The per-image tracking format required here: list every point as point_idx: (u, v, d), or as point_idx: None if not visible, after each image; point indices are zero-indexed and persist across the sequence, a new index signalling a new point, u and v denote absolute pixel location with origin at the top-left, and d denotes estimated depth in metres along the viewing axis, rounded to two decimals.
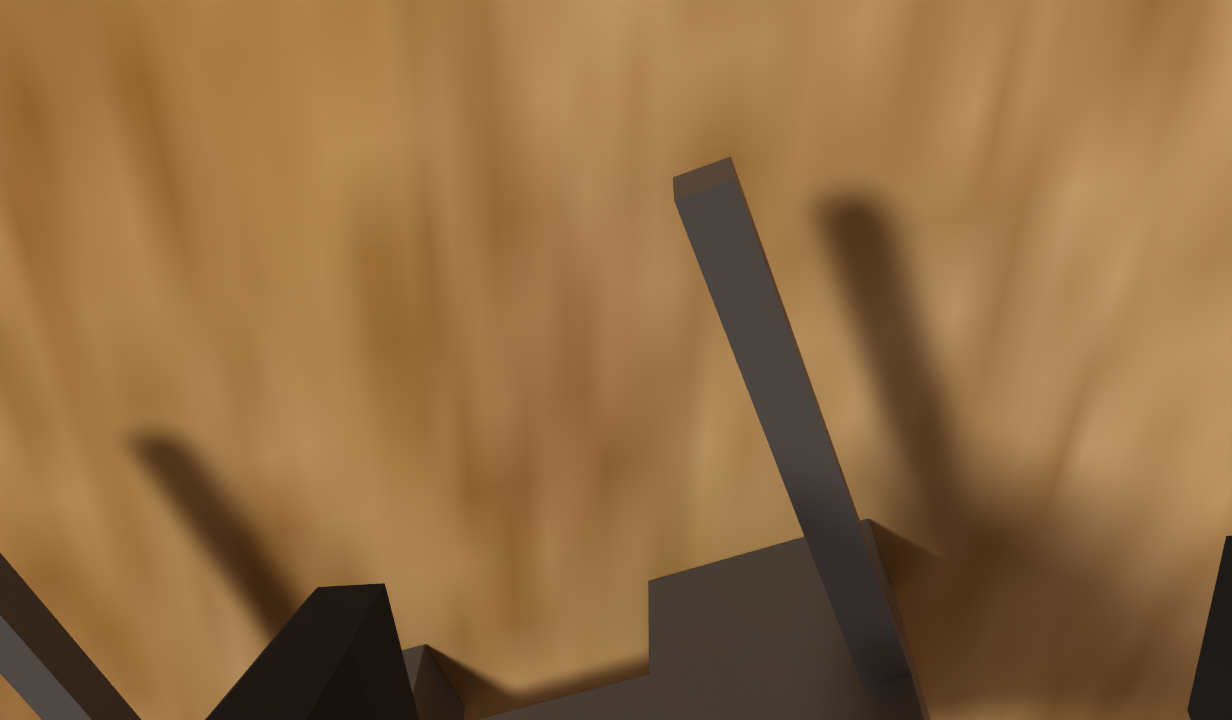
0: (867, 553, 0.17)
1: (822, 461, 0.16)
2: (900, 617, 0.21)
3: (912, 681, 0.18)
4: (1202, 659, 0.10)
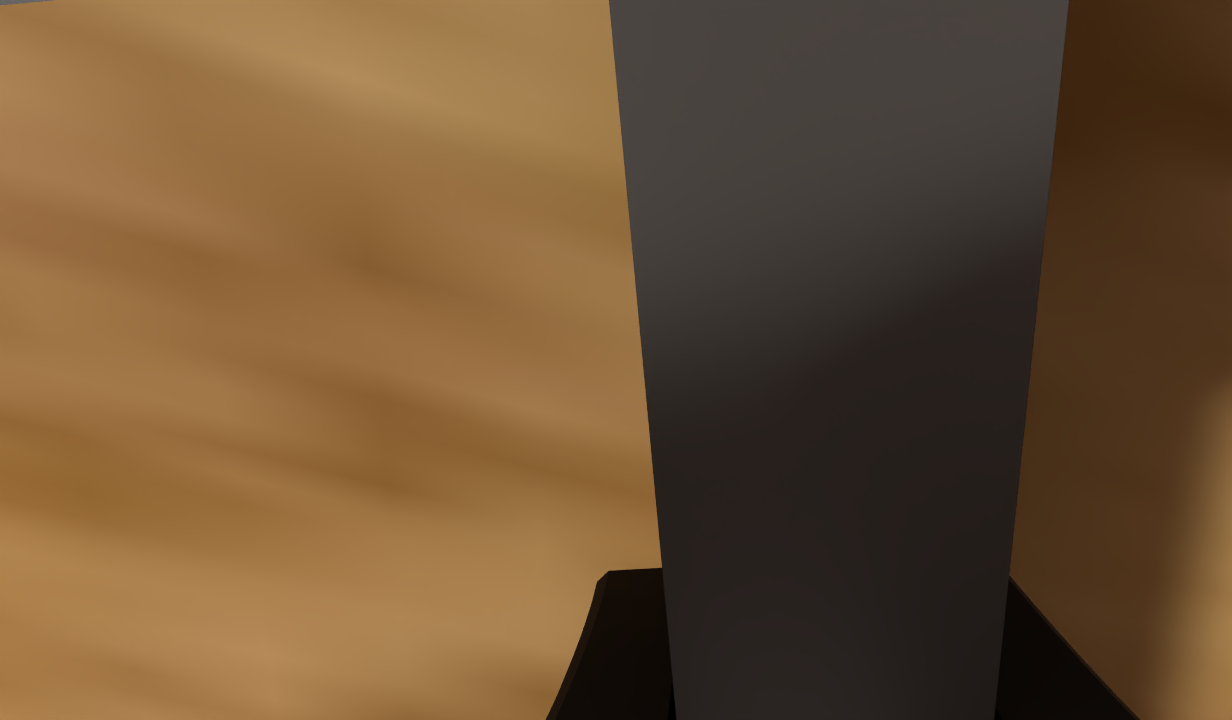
0: None
1: None
2: None
3: None
4: None
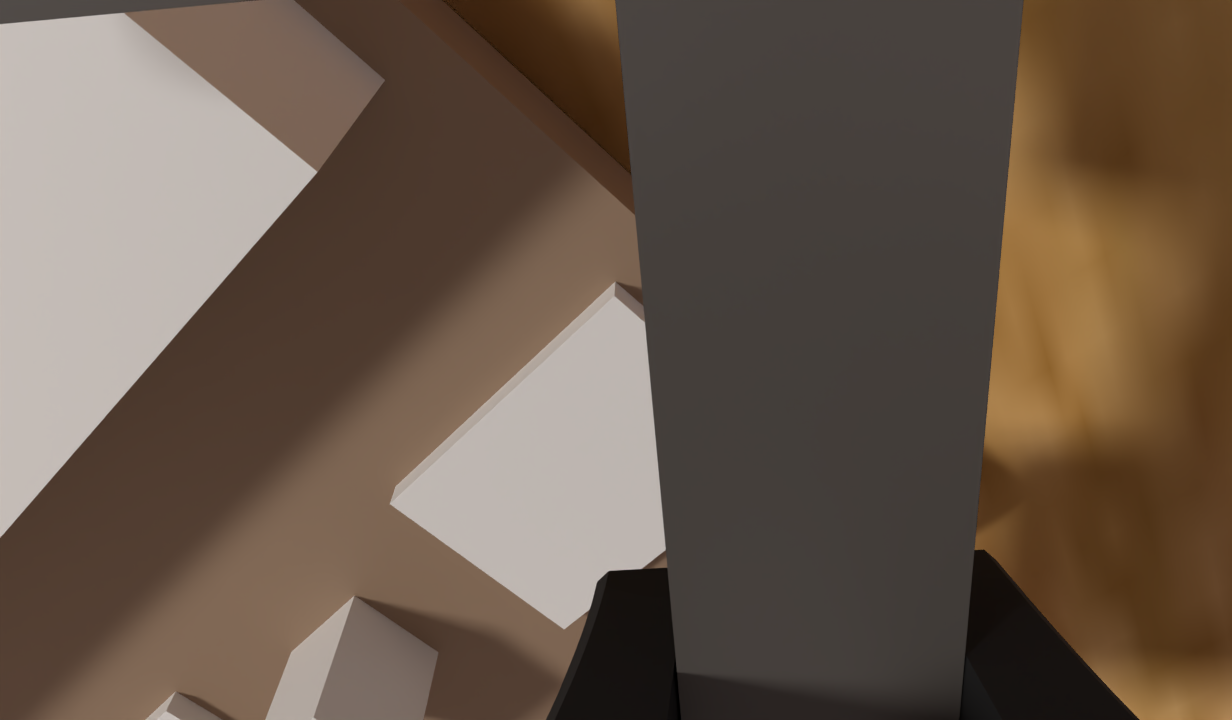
0: None
1: None
2: None
3: None
4: None
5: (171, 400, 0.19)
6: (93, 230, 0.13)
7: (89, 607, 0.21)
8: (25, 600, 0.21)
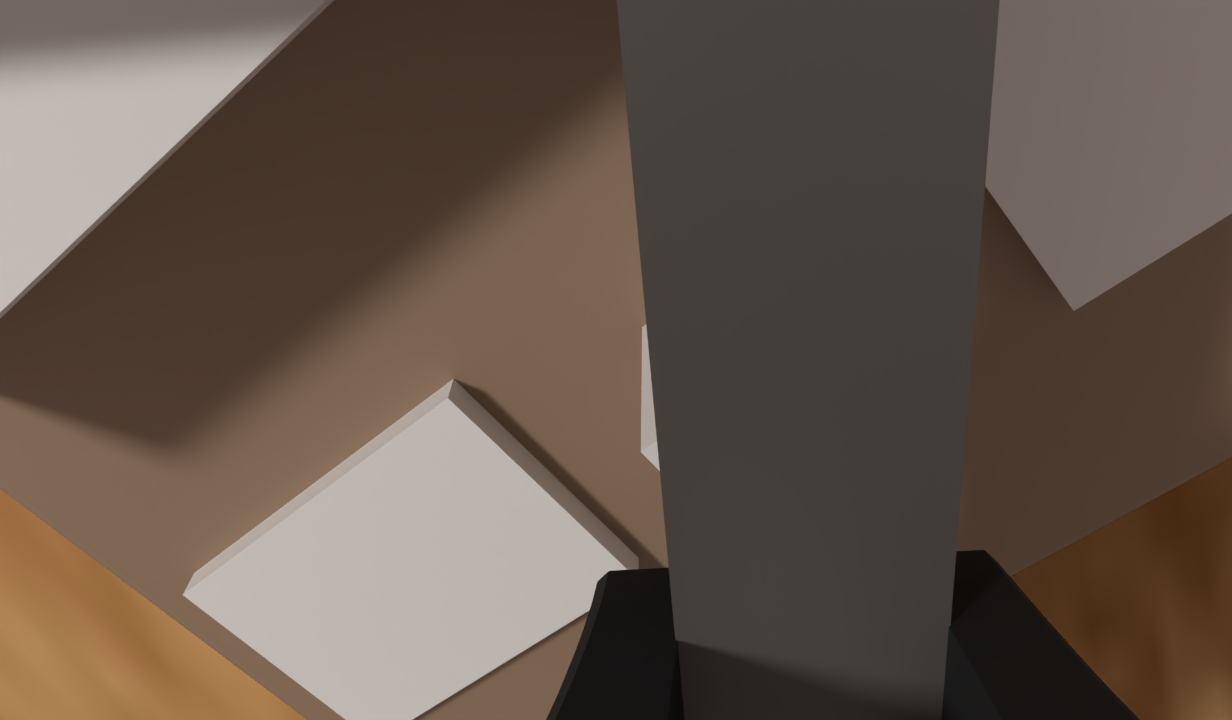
0: None
1: None
2: None
3: None
4: None
5: None
6: None
7: (365, 224, 0.14)
8: (272, 201, 0.14)
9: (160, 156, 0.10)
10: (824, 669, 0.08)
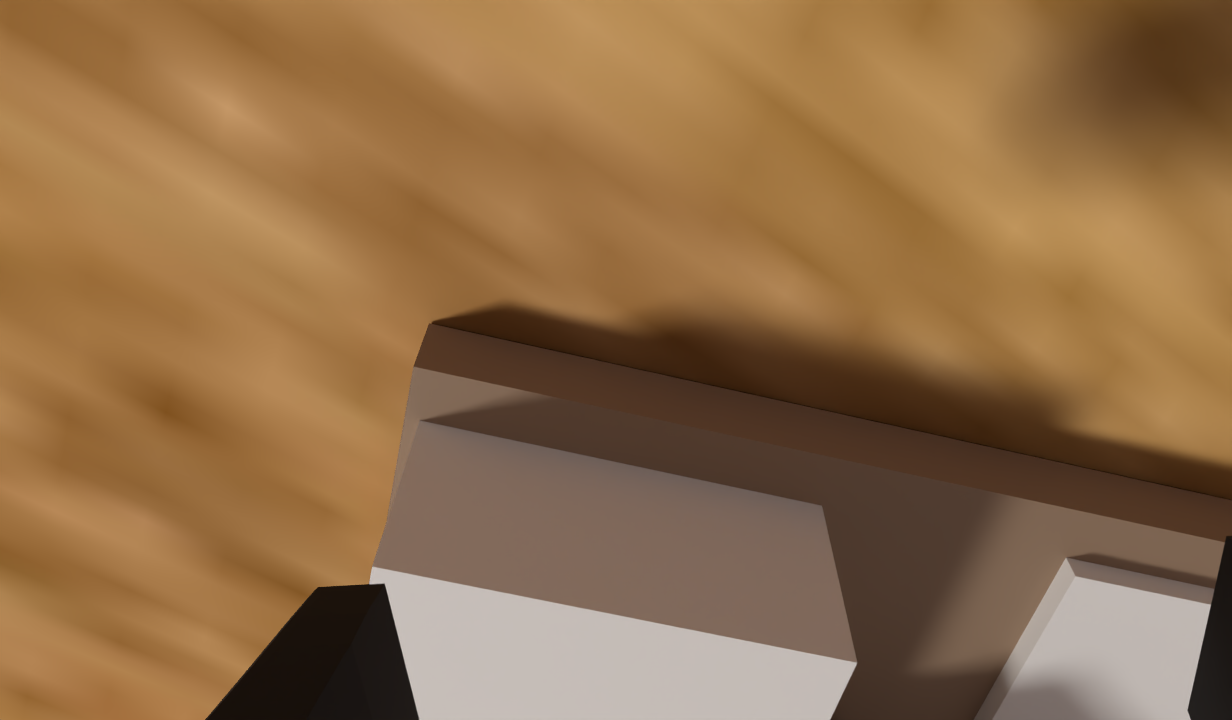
0: None
1: None
2: None
3: None
4: (1202, 659, 0.10)
5: None
6: None
7: None
8: None
9: None
10: None
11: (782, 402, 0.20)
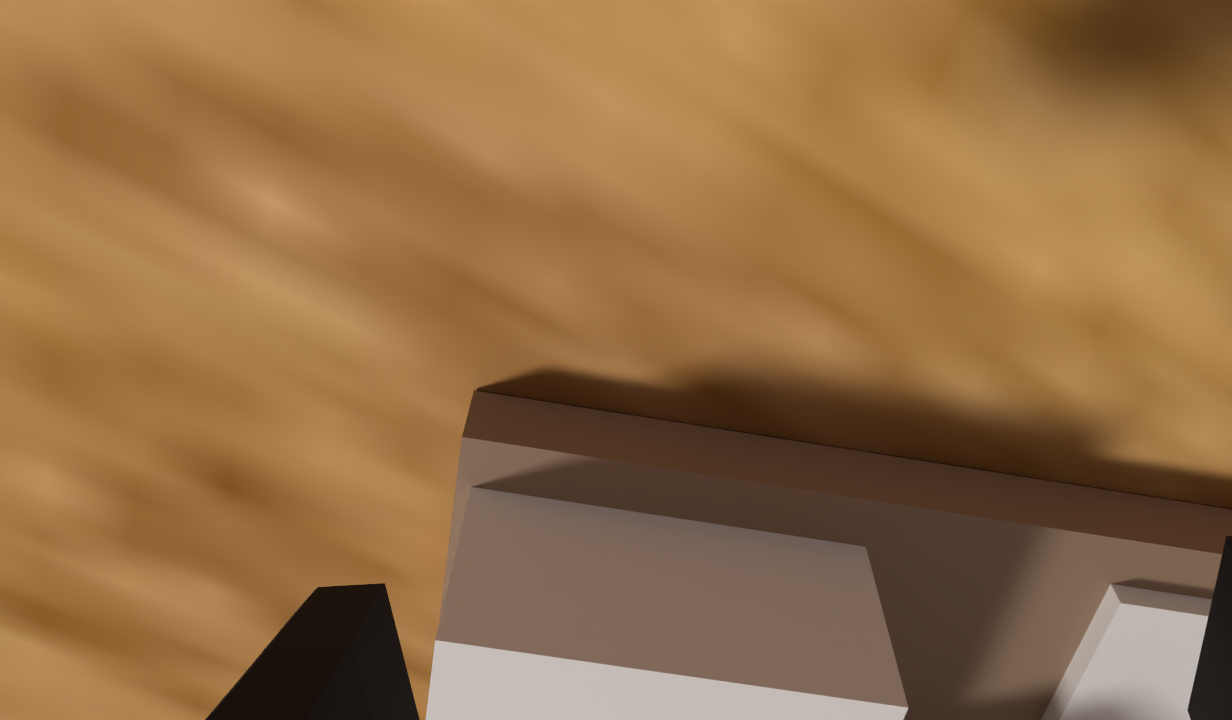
0: None
1: None
2: None
3: None
4: (1202, 659, 0.10)
5: None
6: None
7: None
8: None
9: None
10: None
11: (821, 446, 0.20)
